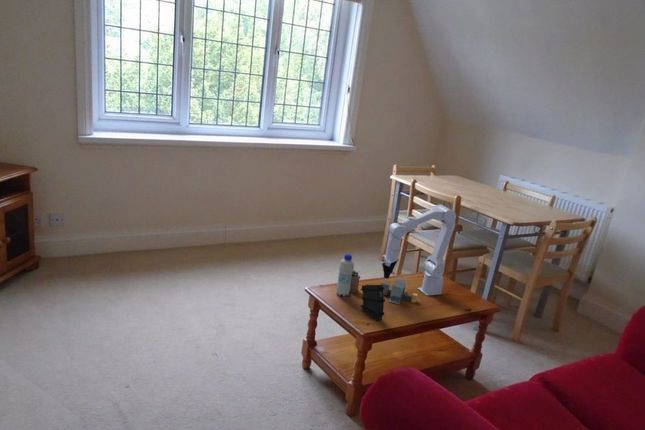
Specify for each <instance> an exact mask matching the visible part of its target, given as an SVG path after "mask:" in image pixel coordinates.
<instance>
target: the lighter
mask: <svg viewBox="0 0 645 430" xmlns="http://www.w3.org/2000/svg"><path fill="white" fill-rule="evenodd" d="M360 280H361V275H359V271H356V270H355V269H353V272H352V277H351V283H350V291H349V292H355V293H357V292H358V291H359V284H360Z"/></svg>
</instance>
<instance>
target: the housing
mask: <svg viewBox="0 0 645 430" xmlns="http://www.w3.org/2000/svg"><path fill="white" fill-rule="evenodd" d="M407 282H408V281H407V280H405V279H400V278H396V279H395V281H394V282H393V284H392V286H391V289H390V290H391V295H389V299H388V300H387V301H388V303H391V304H394V305H400V304H401V301H402V299H401V298H402V293H403V294H406V290H407V289H406V287H407Z"/></svg>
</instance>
